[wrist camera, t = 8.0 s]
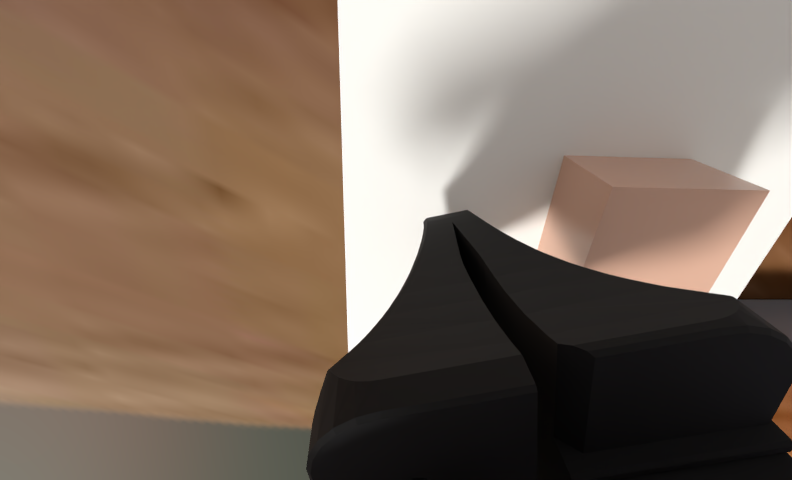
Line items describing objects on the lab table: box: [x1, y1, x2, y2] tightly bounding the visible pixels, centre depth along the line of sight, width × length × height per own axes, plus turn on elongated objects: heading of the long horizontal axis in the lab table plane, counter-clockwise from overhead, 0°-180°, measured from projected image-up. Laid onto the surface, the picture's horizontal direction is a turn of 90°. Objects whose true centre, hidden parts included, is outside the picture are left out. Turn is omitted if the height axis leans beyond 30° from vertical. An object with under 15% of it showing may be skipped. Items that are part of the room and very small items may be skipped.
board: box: [338, 0, 792, 352], centre depth 12 cm, size 15×18×2 cm
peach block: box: [537, 155, 770, 293], centre depth 11 cm, size 4×5×2 cm
